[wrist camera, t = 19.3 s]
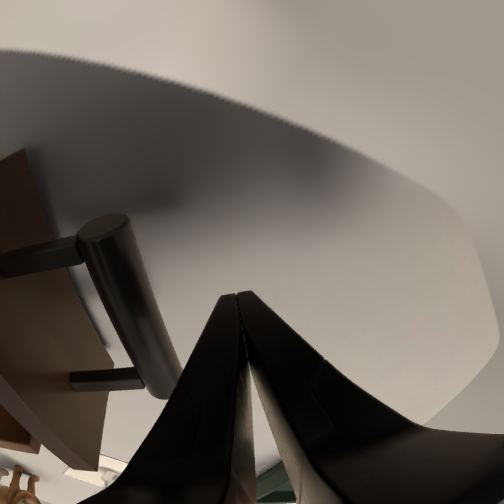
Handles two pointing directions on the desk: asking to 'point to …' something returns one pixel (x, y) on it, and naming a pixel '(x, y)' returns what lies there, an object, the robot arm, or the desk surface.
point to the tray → (275, 487)
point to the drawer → (69, 326)
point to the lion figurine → (18, 489)
